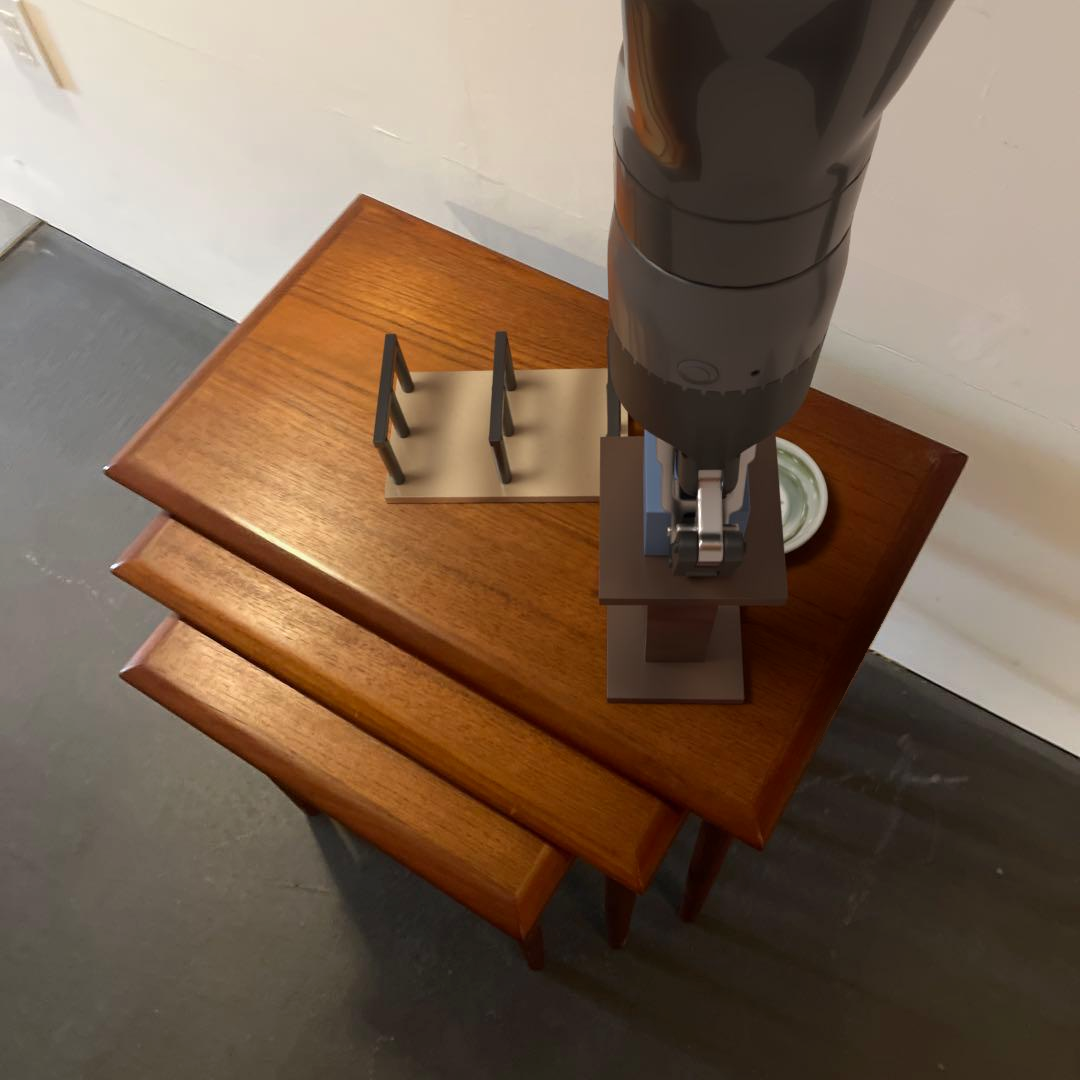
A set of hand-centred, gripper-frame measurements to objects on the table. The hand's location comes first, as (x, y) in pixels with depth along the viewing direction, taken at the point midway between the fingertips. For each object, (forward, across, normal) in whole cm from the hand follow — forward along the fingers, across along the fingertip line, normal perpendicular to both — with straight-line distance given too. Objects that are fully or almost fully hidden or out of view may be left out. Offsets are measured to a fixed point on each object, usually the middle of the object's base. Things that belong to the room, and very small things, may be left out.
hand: (690, 510), depth 48 cm
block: (0, 0, 0) cm, 0 cm away
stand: (+20, 0, 0) cm, 20 cm away
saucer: (+21, +10, -6) cm, 24 cm away
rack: (+20, +16, +12) cm, 28 cm away
